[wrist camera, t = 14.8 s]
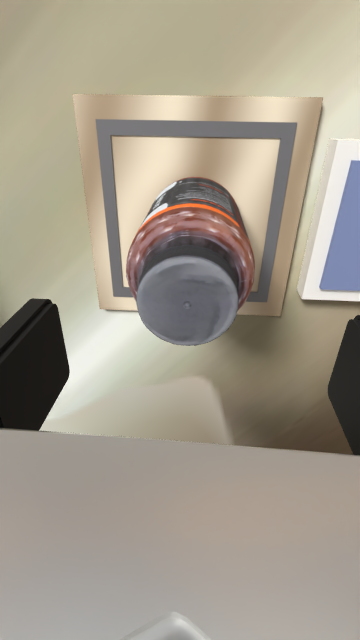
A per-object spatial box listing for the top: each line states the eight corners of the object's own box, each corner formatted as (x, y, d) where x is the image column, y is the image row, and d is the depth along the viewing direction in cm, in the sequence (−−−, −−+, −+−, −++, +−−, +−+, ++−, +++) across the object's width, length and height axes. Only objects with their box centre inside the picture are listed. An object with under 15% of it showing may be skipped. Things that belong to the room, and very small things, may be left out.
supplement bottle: (140, 185, 21) (86, 243, 12) (233, 164, 20) (258, 209, 11) (162, 271, 24) (133, 373, 15) (244, 256, 23) (272, 355, 14)
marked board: (319, 98, 19) (323, 97, 18) (278, 312, 26) (280, 316, 26) (75, 94, 20) (72, 94, 19) (101, 305, 27) (99, 309, 26)
